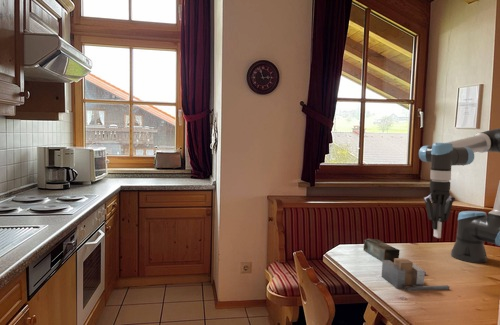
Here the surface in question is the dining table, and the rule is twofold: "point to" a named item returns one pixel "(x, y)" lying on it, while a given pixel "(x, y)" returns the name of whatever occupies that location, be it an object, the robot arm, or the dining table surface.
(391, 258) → the beverage carton
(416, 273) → the block
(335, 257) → the dining table surface
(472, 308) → the dining table surface
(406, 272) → the block
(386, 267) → the vise body
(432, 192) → the robot arm
